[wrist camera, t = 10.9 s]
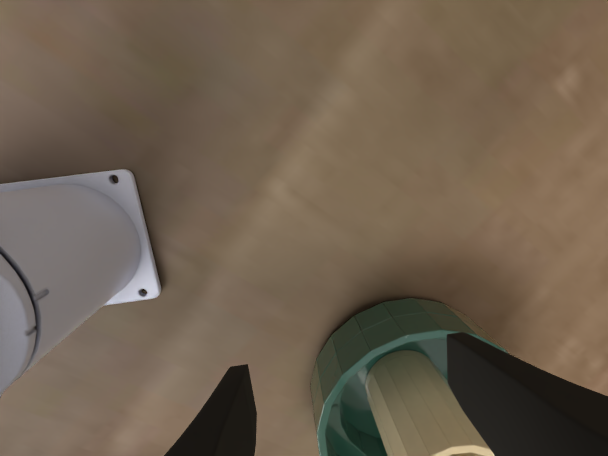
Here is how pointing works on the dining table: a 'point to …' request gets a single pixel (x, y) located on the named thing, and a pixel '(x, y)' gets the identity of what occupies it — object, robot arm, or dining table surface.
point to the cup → (419, 409)
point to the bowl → (360, 359)
